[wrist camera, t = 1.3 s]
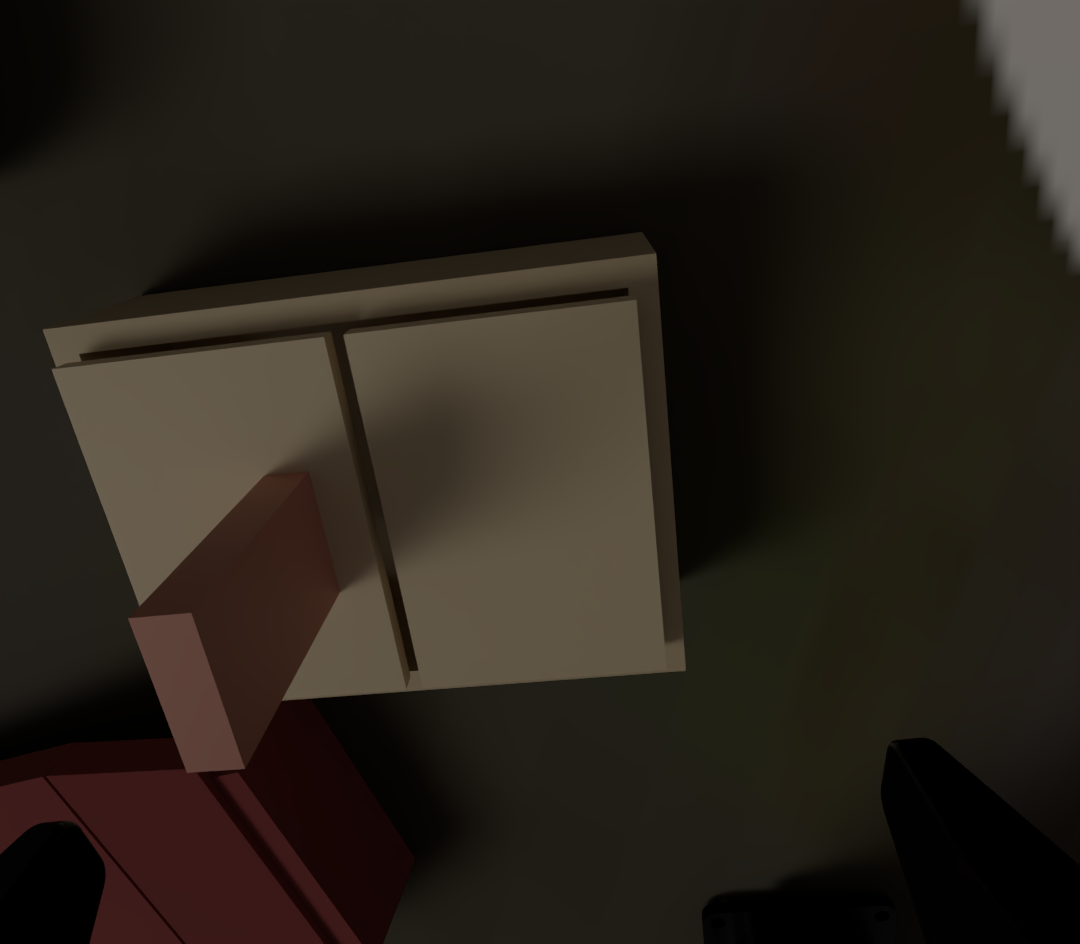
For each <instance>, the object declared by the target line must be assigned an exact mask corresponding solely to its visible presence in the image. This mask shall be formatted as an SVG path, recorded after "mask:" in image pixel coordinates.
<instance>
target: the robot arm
mask: <svg viewBox="0 0 1080 944" xmlns="http://www.w3.org/2000/svg"><path fill="white" fill-rule="evenodd" d="M881 799H882V805H883V809H884V813H885V816H886V819H887V822H888V825H889V829H890V832H891V835H892V838H893V841H894V844H895V847H896V851H897V854H898V857H899V860H900V863H901V866H902V869H903V873H904V876H905V879H906V882H907V885H908V888H909V892H910V895H911V898H912V901H913V904H914V907H915V910H916V914H917V917H918V920H919V923H920V926H921V929H922V932H923V935H924V938H925V941H926V944H1080V865H1079V864H1078V863H1077V862H1075V861H1074V860H1073V859H1072V858H1071V857H1070V856H1068V855H1067V854H1066V853H1065V852H1064V851H1063V850H1061V849H1060V848H1059V847H1058V846H1057V845H1056V844H1054V843H1053V842H1052V841H1051V840H1050V839H1048V838H1047V837H1046V836H1045V835H1044V834H1043V833H1041V832H1040V831H1039V830H1038V829H1037V828H1036V827H1034V826H1033V825H1032V824H1031V823H1030V822H1029V821H1027V820H1026V819H1025V818H1024V817H1023V816H1022V815H1020V814H1019V813H1018V812H1017V811H1016V810H1015V809H1013V808H1012V807H1011V806H1010V805H1009V804H1008V803H1006V802H1005V801H1004V800H1003V799H1002V798H1001V797H999V796H998V795H997V794H996V793H995V792H994V791H992V790H991V789H990V788H989V787H988V786H986V785H985V784H984V783H983V782H982V781H981V780H979V779H978V778H977V777H976V776H975V775H974V774H972V773H971V772H970V771H969V770H968V769H967V768H965V767H964V766H963V765H962V764H961V763H960V762H958V761H957V760H956V759H955V758H954V757H953V756H951V755H950V754H949V753H948V752H947V751H946V750H944V749H943V748H942V747H941V746H940V745H939V744H937V743H936V742H934V741H933V740H930V739H928V738H913V739H903V740H895V741H892V742H891V743H890V744H889V746H888V749H887V753H886V760H885V766H884V772H883V779H882V785H881ZM105 877H106V872H105V865H104V861H103V860H102V858H101V856H100V855H99V853H98V852H97V851H96V849H95V848H94V846H93V845H92V843H91V842H90V840H89V839H88V838H87V836H86V835H85V833H84V832H83V830H82V829H81V827H80V826H79V825H78V824H77V823H75V822H73V821H69V820H66V821H55V822H45V823H40V824H37V825H34V826H32V827H31V828H29V829H28V830H27V831H25V832H24V833H23V834H22V835H21V836H20V837H19V838H17V839H16V840H15V841H14V842H13V843H12V844H11V845H10V846H9V847H8V848H6V849H5V850H4V851H3V852H2V853H1V854H0V944H90V940H91V936H92V932H93V928H94V924H95V920H96V917H97V913H98V909H99V905H100V901H101V897H102V893H103V889H104V885H105ZM702 922H703V936H704V944H895V941H896V925H897V913H896V910H895V908H894V905H893V903H892V901H891V900H890V899H889V898H888V897H886V896H880V895H874V896H852V897H831V898H810V899H788V900H767V901H745V902H724V903H712V904H709V905H707V906H705V908H704V909H703V911H702Z"/></svg>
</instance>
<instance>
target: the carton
mask: <svg viewBox="0 0 1080 944" xmlns="http://www.w3.org/2000/svg"><path fill="white" fill-rule="evenodd" d="M66 820H69V821H73V822H75V823H77V824H78V825H79V826H80V827H81V829H82V830H83V832H84V833H85V835H86V836H87V838H88V839H89V840H90V842H91V843H92V845H93V846H94V848H95V849H96V851H97V852H98V853H99V855H100V856H101V858H102V860H103V861H104V865H105V872H106V877H105V885H104V889H103V893H102V897H101V901H100V905H99V909H98V913H97V917H96V920H95V924H94V928H93V932H92V936H91V940H90V944H383V942H384V940H385V937H386V935H387V932H388V929H389V927H390V924H391V921H392V919H393V916H394V914H395V911H396V908H397V906H398V903H399V900H400V898H401V895H402V893H403V890H404V887H405V885H406V882H407V879H408V877H409V874H410V872H411V869H412V866H413V864H414V861H415V857H414V856H413V854H412V853H411V851H410V850H409V848H408V847H407V845H406V844H405V842H404V840H403V839H402V837H401V836H400V834H399V833H398V831H397V830H396V828H395V827H394V825H393V824H392V822H391V821H390V819H389V818H388V816H387V815H386V813H385V812H384V810H383V808H382V807H381V805H380V804H379V802H378V801H377V799H376V798H375V796H374V795H373V793H372V792H371V790H370V789H369V787H368V786H367V784H366V783H365V781H364V780H363V778H362V776H361V775H360V773H359V772H358V770H357V769H356V767H355V766H354V764H353V763H352V761H351V760H350V758H349V757H348V755H347V754H346V752H345V751H344V749H343V748H342V746H341V744H340V743H339V741H338V740H337V738H336V737H335V735H334V734H333V732H332V731H331V729H330V728H329V726H328V725H327V723H326V722H325V720H324V719H323V717H322V716H321V714H320V712H319V711H318V709H317V708H316V706H315V705H314V703H313V702H312V700H311V699H297V700H284V701H281V703H280V705H279V707H278V709H277V710H276V712H275V714H274V716H273V718H272V720H271V722H270V724H269V725H268V727H267V729H266V731H265V733H264V735H263V737H262V738H261V740H260V742H259V744H258V746H257V748H256V750H255V751H254V753H253V755H252V757H251V759H250V761H249V763H248V764H247V766H246V768H245V769H237V770H222V771H207V772H192V773H187V771H186V769H185V766H184V763H183V761H182V758H181V756H180V753H179V750H178V748H177V745H176V743H175V740H174V738H156V739H137V740H118V741H99V742H80V743H77V742H73V743H69V744H65V745H61V746H57V747H53V748H49V749H45V750H41V751H37V752H33V753H29V754H25V755H21V756H17V757H13V758H9V759H5V760H1V761H0V854H1V853H2V852H3V851H4V850H5V849H6V848H8V847H9V846H10V845H11V844H12V843H13V842H14V841H15V840H16V839H17V838H19V837H20V836H21V835H22V834H23V833H24V832H25V831H27V830H28V829H29V828H31V827H32V826H34V825H37V824H40V823H45V822H55V821H66Z"/></svg>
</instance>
